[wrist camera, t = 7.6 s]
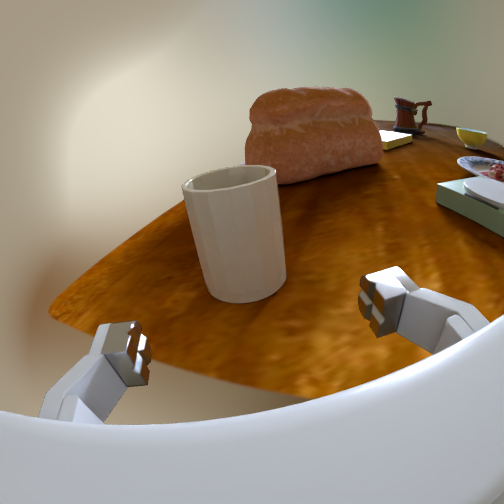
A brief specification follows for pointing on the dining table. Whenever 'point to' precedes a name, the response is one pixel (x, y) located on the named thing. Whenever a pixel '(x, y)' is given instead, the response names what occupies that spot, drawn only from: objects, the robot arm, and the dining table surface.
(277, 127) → the bread
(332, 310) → the dining table surface
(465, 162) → the ceramic plate
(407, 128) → the mug
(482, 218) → the scale
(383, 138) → the pale yellow flat slab
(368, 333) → the dining table surface
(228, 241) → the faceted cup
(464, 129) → the bowl
